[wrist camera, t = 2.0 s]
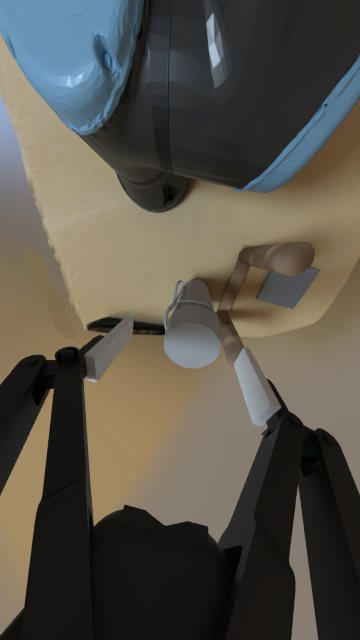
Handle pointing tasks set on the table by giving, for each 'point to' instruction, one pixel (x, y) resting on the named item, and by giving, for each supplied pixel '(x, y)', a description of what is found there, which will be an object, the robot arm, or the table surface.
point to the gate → (267, 257)
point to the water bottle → (192, 326)
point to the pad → (286, 287)
